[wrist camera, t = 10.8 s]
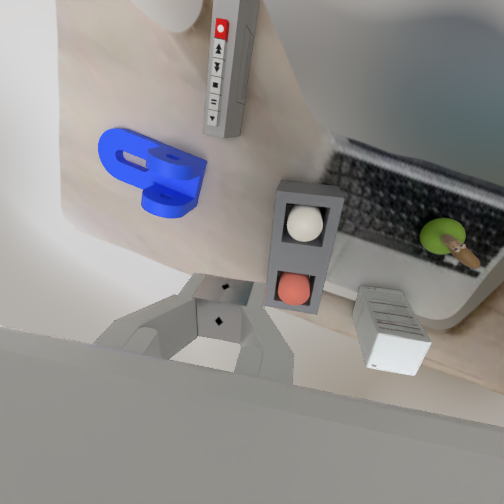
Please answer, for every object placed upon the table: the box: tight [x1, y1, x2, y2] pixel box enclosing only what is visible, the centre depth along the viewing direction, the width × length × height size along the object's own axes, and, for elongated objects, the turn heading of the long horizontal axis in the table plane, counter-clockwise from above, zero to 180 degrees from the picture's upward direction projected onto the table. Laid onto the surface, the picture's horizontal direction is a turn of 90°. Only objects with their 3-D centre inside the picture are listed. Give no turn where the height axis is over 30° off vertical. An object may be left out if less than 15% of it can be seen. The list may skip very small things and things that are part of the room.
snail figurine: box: [420, 218, 480, 269], centre depth 34 cm, size 5×6×12 cm
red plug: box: [278, 271, 310, 305], centre depth 42 cm, size 5×5×6 cm
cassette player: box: [203, 0, 259, 138], centre depth 31 cm, size 16×3×10 cm, turn 169°
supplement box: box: [352, 286, 432, 376], centre depth 42 cm, size 7×7×13 cm
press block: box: [265, 180, 345, 315], centre depth 41 cm, size 9×20×8 cm, turn 176°
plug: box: [287, 204, 323, 242], centre depth 38 cm, size 5×5×6 cm
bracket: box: [98, 128, 207, 218], centre depth 39 cm, size 18×8×9 cm, turn 70°
